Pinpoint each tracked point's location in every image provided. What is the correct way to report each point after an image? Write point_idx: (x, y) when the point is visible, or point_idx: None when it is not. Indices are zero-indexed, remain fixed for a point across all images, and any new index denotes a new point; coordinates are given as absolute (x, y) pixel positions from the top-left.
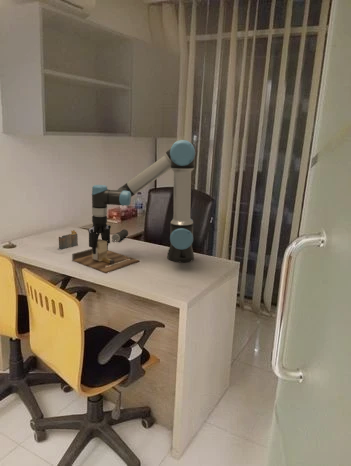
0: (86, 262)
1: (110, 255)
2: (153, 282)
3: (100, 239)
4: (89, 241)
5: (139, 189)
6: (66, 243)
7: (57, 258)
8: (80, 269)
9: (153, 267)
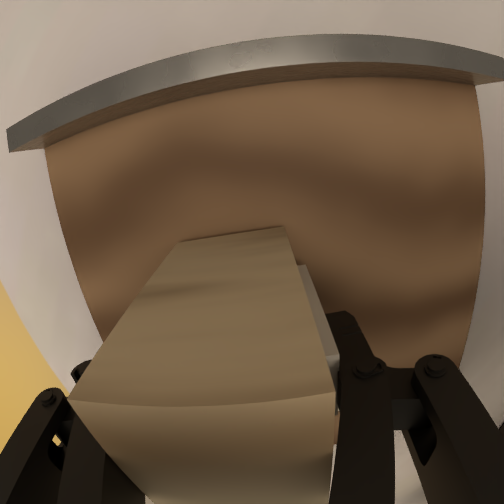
0: (105, 275)
1: (411, 233)
2: None
3: (320, 434)
4: (13, 458)
5: None
6: None
7: (12, 37)
8: (53, 333)
9: (404, 467)
